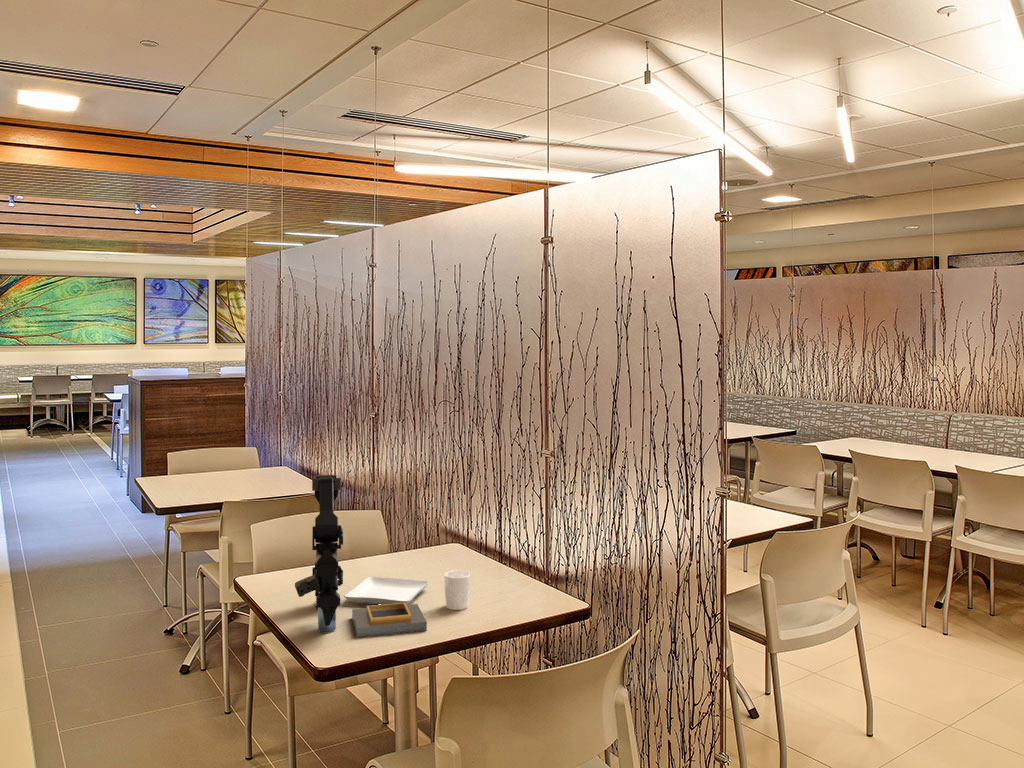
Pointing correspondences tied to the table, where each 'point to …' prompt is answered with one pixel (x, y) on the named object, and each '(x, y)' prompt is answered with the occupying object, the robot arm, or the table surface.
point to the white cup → (457, 589)
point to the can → (322, 623)
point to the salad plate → (386, 590)
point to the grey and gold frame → (388, 619)
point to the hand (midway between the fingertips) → (326, 622)
